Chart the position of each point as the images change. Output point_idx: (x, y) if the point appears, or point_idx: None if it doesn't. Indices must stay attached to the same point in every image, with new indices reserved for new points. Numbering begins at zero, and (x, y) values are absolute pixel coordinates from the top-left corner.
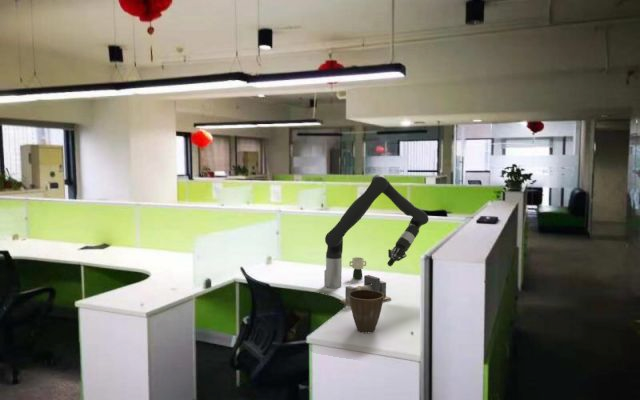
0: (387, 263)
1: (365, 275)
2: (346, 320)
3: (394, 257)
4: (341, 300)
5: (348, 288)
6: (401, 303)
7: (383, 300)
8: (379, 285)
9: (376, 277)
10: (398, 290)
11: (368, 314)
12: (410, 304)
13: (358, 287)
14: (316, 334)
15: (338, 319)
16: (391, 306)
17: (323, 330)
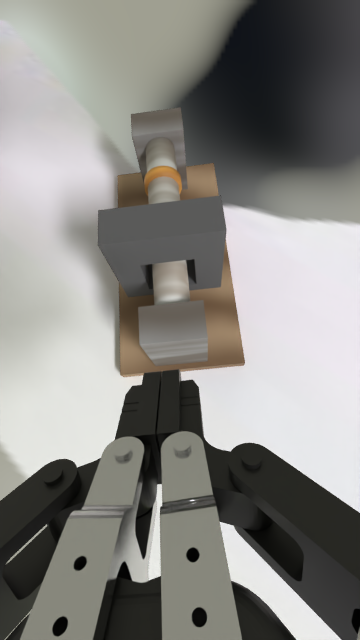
0: (177, 369)
1: (221, 204)
2: (36, 111)
3: (99, 468)
4: (206, 164)
5: (157, 114)
6: (51, 387)
7: (121, 323)
8: (113, 269)
9: (130, 237)
10: (276, 584)
11: None
12: (11, 417)
13: (154, 163)
14: (7, 27)
15: (58, 97)
16: (48, 314)
17: (16, 45)
